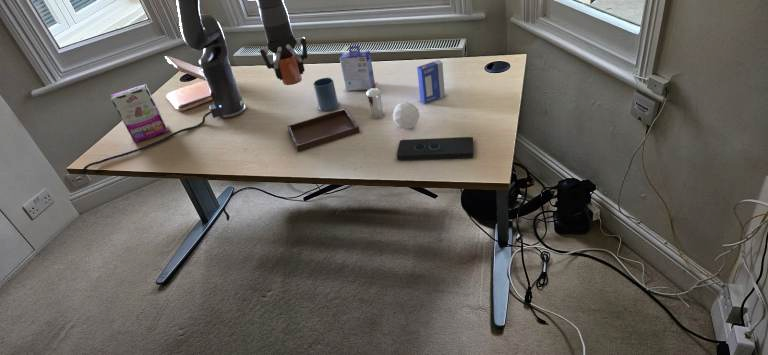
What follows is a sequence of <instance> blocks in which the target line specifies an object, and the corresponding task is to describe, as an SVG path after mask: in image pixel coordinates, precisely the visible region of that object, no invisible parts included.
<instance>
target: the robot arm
mask: <svg viewBox="0 0 768 355" xmlns="http://www.w3.org/2000/svg"><path fill="white" fill-rule="evenodd" d="M256 4H257V7H258V12H259V16H260V21H261V23H262V27H263V31H264V33H265V37H266V40H267V46H264V47H259V48H258V51H259V53H260V56H261V57H262V60H263V62H264V64H265V66H266V68H267V69H268V70H270V69H273V70H274V73H275V78H276V79H277V80H279V81H282V76H281V73H280V69H279V67H278V64H279V63H278V62H279V60H280V57H284V56H286V55H291V54H292V55H293V56H295V57H296V59H297V61H298V65H299V68H300V72H301V75H304V72H306V71H305V65H304V60H305V59H306V60H307V59H308V58H309V57H308V48H307V40H306V38H305V37H304V36H300V37H295V36H294V33H293V29H292V25H291V22H290V21H291V20H290V17H289V16H290V15H289V14H288V10H287V7H286V6H285V5H286V4H285V3H284V0H256ZM176 6H177V12H178V17H179V18H178V19H179V26H180V32H181V35H182V38H183V40H184V42H185V45H187V47H189V48H190V49H191V50H192V51H195V52H201V51H203V53H202V55H201V57H200V58H199V60H198V63H199V66H200V67H199V68H201V69H202V72H203V74H204V77H205V79H206V82H207V84H208V87H209V90H210V94H211V97H212V99H213V100H212V102H213V103H212V104H209V110H210V111H208V112H206V113H205V114H204V115H203V116H202V121H201V122H199V123H198V124H196V125H194V126H190V127H185V128H182V129H179V130H176V131H174V132H173V133H171V134H169V135H167V136H164V137H163V138H160V139H159V140H156V141H154V142H152V143H149V144H147V145H143V146H141V147H137V148H136V149H132V150H129V151H127V152H124V153H121V154H115V155H113V156H109V157H106V158H103V159H101V160H98V161H97V160H96V161H93V162H91V163H88V164H87V165H85V166H84V167H83V168H82V170H81V172H80V173H81V174H84V173H85V172H86V170H87V169H88V168H90V167H92V166H95V165H98V164H101V163H104V162H107V161H110V160H114V159H116V158H120V157H124V156H128V155H130V154H133V153H137V152H139V151H143V150H145V149H147V148H150V147H153V146H155V145H157V144H160V143H162V142H164V141H166V140H168V139H170V138H172V137H174V136H176V135H179V134H180V133H182V132H185V131H190V130H194V129H196V128H199V127H200V126H203V125H204V123H205V121H206V118H207V117H208V116H209V115H212V118H213V119H215V118H219V119H227V118H233V117H234V118H235V117H236V116H239V115H241V114H242V113H244V112H245V111H246V108H247V107H246V105H245V99H244V98H243V97H242V94H241V91H240V89H239V86H238V82H237V80H236V77H235V74H234V72H233V69H232V66H231V63H230V60H229V49H228V46H227V43H226V42H227V41H226V39H225V36H224V32H223V30H222V27H221V25H220V23H219V21H218V20H217V19H216V18H215V16H213V15H212V14H208V13H202V14H201V13H200V0H176ZM297 44H298V46H300V50H301V54H299V53H298V52H297V51H296V49H295V48H296V45H297ZM269 51H270V52H271V53H273V57H272V58H273V59H272V60H273V61H272V62H270V60H269V58H268V55H269Z"/></svg>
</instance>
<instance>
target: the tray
mask: <svg viewBox="0 0 768 355" xmlns="http://www.w3.org/2000/svg"><path fill="white" fill-rule="evenodd" d="M287 130H288V133H289V135H290V137H291V139H292V142H293V144H294V146H295V149H296V150H297V152H298V153H300V152H303V151H306V150H309V149H314V148H315V147H319V146H322V145H326V144H328V143H333V142H335V141H339V140H341V139H344V138H348V137H352V136H355V135H357V134H360V132H361V131H360V126H359V124H357V123H356V121H355V119H353V116H352V115H351V114H350V113H349V111H348V110H347V109H346V108H342V109H339V110H336V111H331V112H329V113H326V114H321V115H319V116H315V117H312V118H309V119H305V120H302V121H299V122H295V123H292V124H291V123H290V124H288V125H287Z"/></svg>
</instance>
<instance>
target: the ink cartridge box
mask: <svg viewBox="0 0 768 355" xmlns="http://www.w3.org/2000/svg"><path fill="white" fill-rule="evenodd" d="M360 48H361V47H360V45H352V46H349V52H344V53H342V55H341V56H340V57H339V63H340V68H341V74H342V78H343V83H344V88H345V91H346V92H347V91H364V90H365V91H366V90H367V91H368V90H369V89H372V88H374V86H375V85H376V80H375V75H374V69H373V64H372V57H371V52H370V50H363V51H361V49H360ZM353 49H356V50H353Z"/></svg>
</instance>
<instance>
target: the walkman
mask: <svg viewBox="0 0 768 355" xmlns="http://www.w3.org/2000/svg"><path fill="white" fill-rule="evenodd" d="M416 70H417V80H418V89H419V97H420V102H422V103H423V104H424V105H426V104H428V103H431V102H434V101H437V100H440V99H442V98H445V97H446V91H445V78H444V65H443V61H441V60H439V59H437V60H434V61H431V62H428V63H426V64H422V65H419V66H417V67H416Z"/></svg>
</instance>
